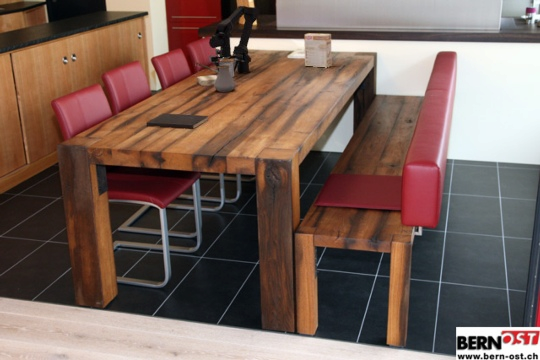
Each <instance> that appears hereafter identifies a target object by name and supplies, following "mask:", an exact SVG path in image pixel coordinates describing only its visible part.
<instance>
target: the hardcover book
mask: <svg viewBox="0 0 540 360" xmlns="http://www.w3.org/2000/svg"><path fill="white" fill-rule="evenodd" d="M208 117H209V115H199V114H198V115H196V114H179V113H165V112H164V113H162V114H159V115H158V116H155V117H154V118H151V119H150V120H148V121H146V127H154V126H160V127H159V128H169V127H171V128H172V129H184V128H185V129H187V130H188V129H189V130H194V129H196V128H197V127H199V126H200V125H202V124H203V123H205V122H207V121H208Z"/></svg>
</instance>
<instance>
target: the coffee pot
mask: <svg viewBox="0 0 540 360" xmlns="http://www.w3.org/2000/svg"><path fill="white" fill-rule="evenodd" d="M197 65H198V66H201V67H202V68H204V69H206V70H207V69H208V70H210V71H213V72H215V73H217V74H216V75H217V78H216V81H215V84H214V85H213V87H214V89H215V90H216V91H218V92H220V93H227V92H228V93H229V92H231V91H233V90H234V89H235V87H236V86H237V85H236V82H235V79H234V77H232V76H231V74H230V72H229V67H230V66H227V65H223V66H218V68H219V71H218V70H217V69H213V68H212V67H209V66H207V65H205V64H201V63H199V62H195V65H194V66H197Z"/></svg>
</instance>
